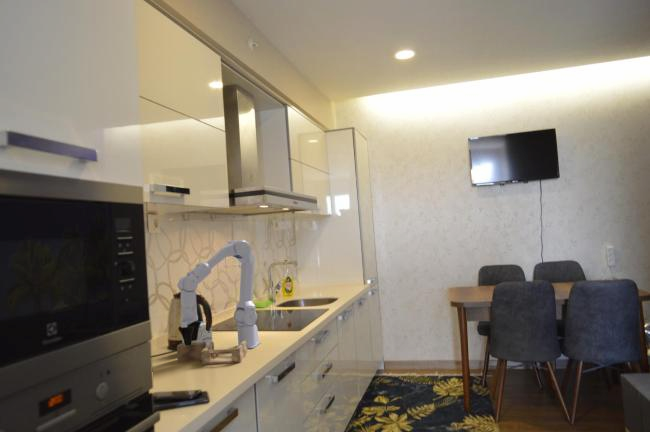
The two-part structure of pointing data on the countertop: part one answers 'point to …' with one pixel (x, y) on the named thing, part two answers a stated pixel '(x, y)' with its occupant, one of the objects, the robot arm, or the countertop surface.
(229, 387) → the countertop surface
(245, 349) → the wooden stool
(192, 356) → the brown wooden block
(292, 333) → the countertop surface
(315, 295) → the countertop surface
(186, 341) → the robot arm
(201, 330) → the light bulb box
